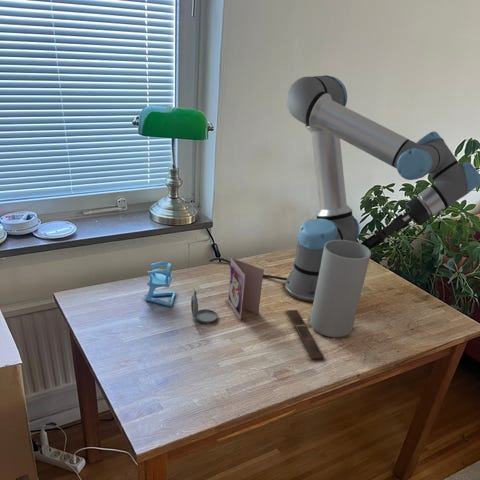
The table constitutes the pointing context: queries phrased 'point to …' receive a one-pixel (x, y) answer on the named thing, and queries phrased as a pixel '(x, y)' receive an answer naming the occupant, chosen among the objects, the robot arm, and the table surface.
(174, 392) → the table surface
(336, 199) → the robot arm
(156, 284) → the chair
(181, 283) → the table surface
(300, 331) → the ruler
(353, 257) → the cylinder vase
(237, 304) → the greeting card
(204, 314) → the pocket watch
